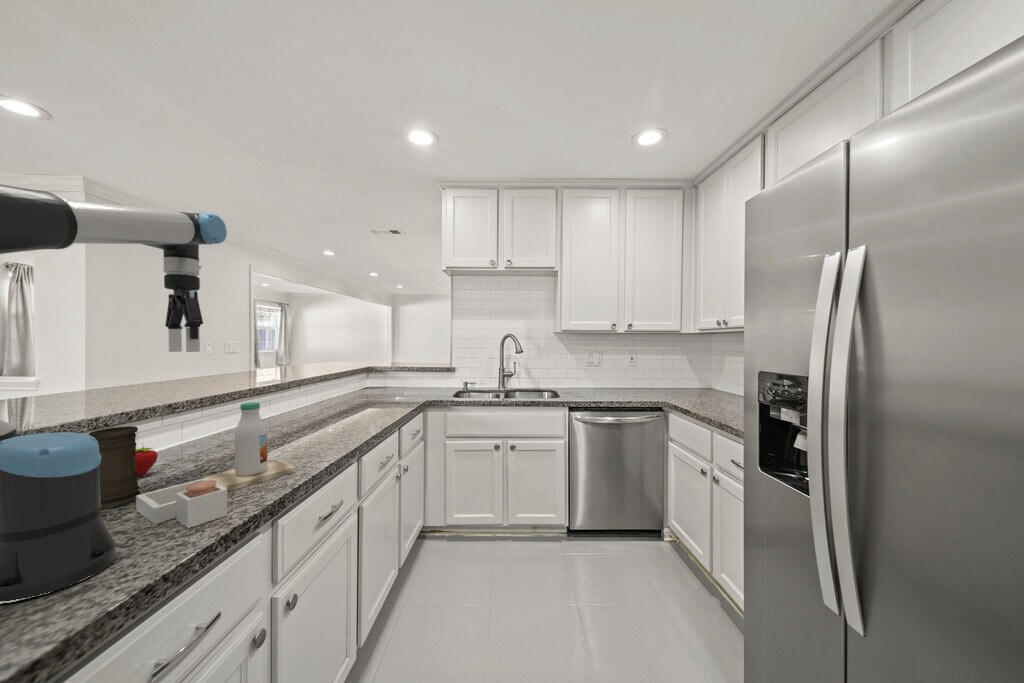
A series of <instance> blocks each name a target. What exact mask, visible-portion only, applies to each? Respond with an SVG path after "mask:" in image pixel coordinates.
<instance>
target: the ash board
mask: <svg viewBox="0 0 1024 683" xmlns="http://www.w3.org/2000/svg"><path fill="white" fill-rule="evenodd" d="M296 471H297V467H296V466H293V465H290V464H287V463H284V462H282V461H278V460H275V459H270V460H267V469H266V471H264V472H262V473H259V474H255V475H249V476H237V475H236V474H235V468H234V469H231V470H227V471H223V472H219V473H216V474H210V475H207V476H204V477H203V478H207V479H209V480H215V481H216V483H217V484H220V485H222V486H224V487H226V488H227V493H228V491H229V492H232V490H233V491H235V489H236V490H239V488H240V489H242V487H243V488H247V487H249V485H250V486H253V485H255V484H256V483H257V484H259V483H263V481H264V482H266V481H267V482H268V481H271V480H273V478H274V479H277V478H280V477H279V476H281V477H283V476H282V475H284V476H287V475H286V474H288V475H290V474H289V473H291V474H294V473H293V472H295V473H296ZM276 477H277V478H276ZM270 479H271V480H270ZM257 484H256V485H257Z"/></svg>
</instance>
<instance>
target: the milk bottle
mask: <svg viewBox="0 0 1024 683" xmlns="http://www.w3.org/2000/svg"><path fill="white" fill-rule="evenodd" d="M260 405H261V404H260V402H257V401H253V402H244V403H241V404H240V412H241V415H240V419H239V421H238V424H237V425H236V428H235V431H234V469H235V474H236V475H237V476H249V475H255V474H259V473H262V472H264V471H266V469H267V461H268V440H267V437H268V435H267V430H266V429H267V428H266V425H265V423H264V422H263V419H262V417H261V415H260V410H261V408H260V407H261V406H260Z"/></svg>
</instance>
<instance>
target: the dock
mask: <svg viewBox="0 0 1024 683" xmlns="http://www.w3.org/2000/svg"><path fill="white" fill-rule="evenodd" d="M206 480H209V479H207V478H204V477H203V478H200V479H196V480H191V481H188V482H184V483H180V484H176V485H173V486H168V487H165V488H161V489H157V490H152V491H148V492H144V493H141V494H140V495H136V500H135V502H136V504H135V505H136V510H137V511H136V512H138V513H139V514H140V515H141V516H143V517H144V518H145V517H146V518H145V519H147V520H148V521H149V522H150V521H151V523H152V524H153V525H154V524H155V525H159V524H161V522H162V523H165V522H167V521H166V520H168V521H171V520H170V519H172V520H174V519H173V518H175V519H176V522H178V521H179V522H180V523H182V524H183V525H185V526H186V527H188V528H190V527H193V526H196V525H199V524H202V523H205V522H208V521H211V520H214V519H217V518H220V519H222V518H221V517H223V516H226V517H227V516H228V492H227V488H226V487H224V486H222V485H220V484H217V483H216V485H215V486H214V492H212V493H208V494H205V495H201V496H198V497H194V498H189V492H188V491H186V487H187V486H188V485H190V484H193V483H196V482H200V481H206ZM223 518H224V517H223ZM217 520H218V519H217ZM164 521H165V522H164ZM214 521H215V520H214ZM179 522H178V523H179ZM211 522H212V521H211ZM158 523H159V524H158ZM180 523H179V524H180ZM208 523H209V522H208ZM182 524H181V525H182ZM205 524H206V523H205ZM183 525H182V526H183ZM202 525H203V524H202ZM185 526H184V527H185ZM199 526H200V525H199ZM186 527H185V528H186ZM196 527H197V526H196ZM188 528H187V529H188ZM193 528H194V527H193ZM190 529H191V528H190Z"/></svg>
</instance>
